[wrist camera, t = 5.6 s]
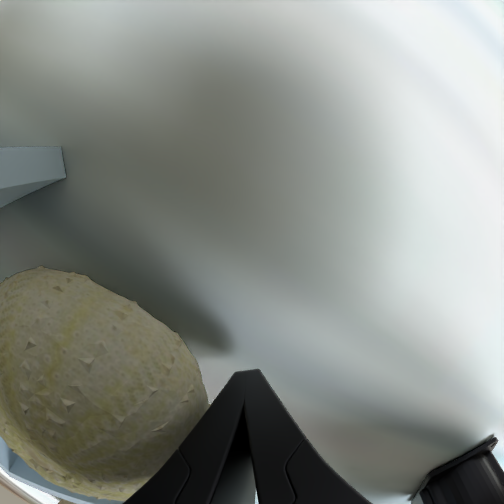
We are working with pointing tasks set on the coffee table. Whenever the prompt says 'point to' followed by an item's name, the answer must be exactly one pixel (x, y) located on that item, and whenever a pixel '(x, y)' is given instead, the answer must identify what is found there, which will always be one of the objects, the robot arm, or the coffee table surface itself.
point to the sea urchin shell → (91, 384)
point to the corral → (3, 192)
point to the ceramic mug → (65, 502)
